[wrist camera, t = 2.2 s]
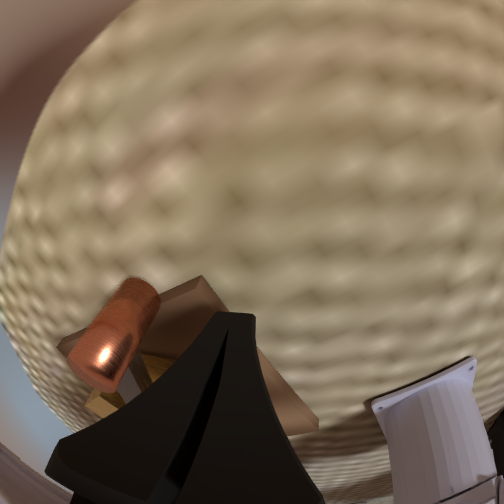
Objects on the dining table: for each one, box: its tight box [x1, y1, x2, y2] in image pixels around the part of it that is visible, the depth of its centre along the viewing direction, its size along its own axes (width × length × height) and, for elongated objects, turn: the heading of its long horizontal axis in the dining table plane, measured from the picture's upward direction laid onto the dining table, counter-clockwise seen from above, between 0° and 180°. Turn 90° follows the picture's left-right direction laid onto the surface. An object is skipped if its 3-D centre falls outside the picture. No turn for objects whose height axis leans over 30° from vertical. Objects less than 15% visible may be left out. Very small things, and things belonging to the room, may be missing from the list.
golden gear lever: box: [67, 278, 176, 418], centre depth 12 cm, size 15×10×4 cm, turn 0°
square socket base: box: [57, 275, 319, 436], centre depth 14 cm, size 14×14×6 cm
